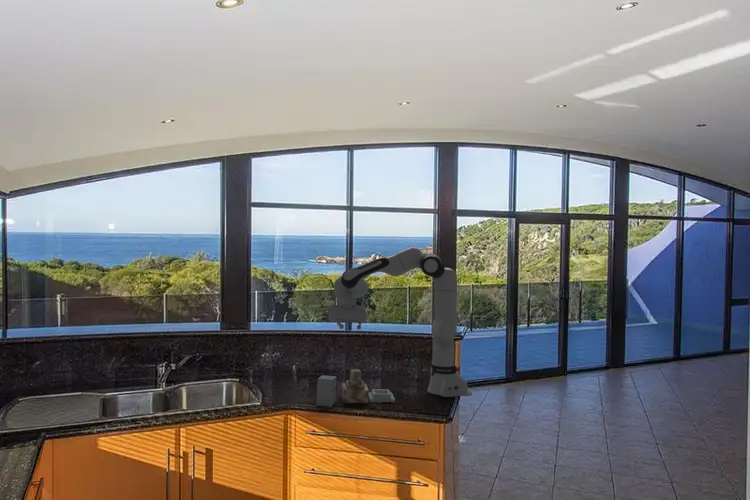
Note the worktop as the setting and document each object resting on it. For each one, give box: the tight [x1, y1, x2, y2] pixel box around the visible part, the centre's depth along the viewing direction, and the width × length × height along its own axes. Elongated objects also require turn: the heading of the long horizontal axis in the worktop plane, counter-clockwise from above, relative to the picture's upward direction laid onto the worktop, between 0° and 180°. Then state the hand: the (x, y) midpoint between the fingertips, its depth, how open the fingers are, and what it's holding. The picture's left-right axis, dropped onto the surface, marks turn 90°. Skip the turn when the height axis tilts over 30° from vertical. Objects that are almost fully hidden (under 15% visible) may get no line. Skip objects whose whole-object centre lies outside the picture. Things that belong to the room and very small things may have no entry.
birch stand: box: [341, 379, 370, 404], centre depth 291 cm, size 12×12×8 cm
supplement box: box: [316, 374, 337, 408], centre depth 281 cm, size 7×7×13 cm
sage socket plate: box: [368, 388, 396, 404], centre depth 293 cm, size 12×12×4 cm
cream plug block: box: [349, 368, 362, 385], centre depth 290 cm, size 4×4×8 cm
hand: (350, 328), depth 301 cm, fingers open, 8 cm apart
